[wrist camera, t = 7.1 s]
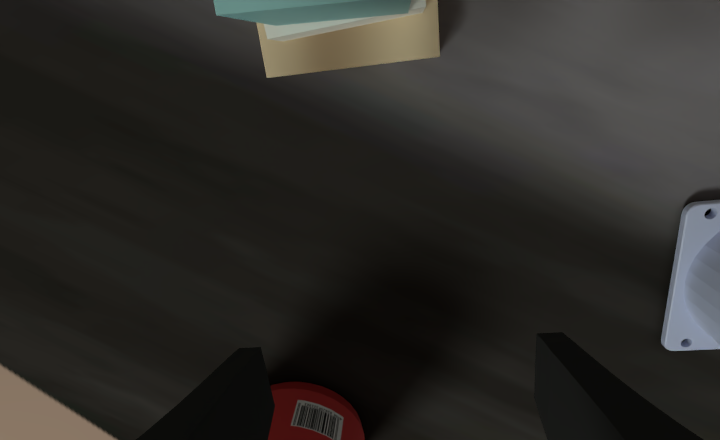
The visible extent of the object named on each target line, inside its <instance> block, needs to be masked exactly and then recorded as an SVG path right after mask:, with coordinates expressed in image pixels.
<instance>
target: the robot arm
mask: <svg viewBox="0 0 720 440" xmlns="http://www.w3.org/2000/svg"><path fill="white" fill-rule="evenodd" d="M708 209H711V212H710V213H709V214H708V215H706V216H705V215H704V214H705V212H706V211H707V210H708ZM684 339H686V340H685V341H684V342H681V341H683V340H684ZM661 343H662V344H663V346H664V347H665V348H666V349H668V350H670V351H684V350H707V349H720V200H710V201H698V202H692V203H690V204H688V205H686V206H685V208H684V209H683V211H682V215H681V221H680V227H679V233H678V239H677V245H676V251H675V257H674V263H673V269H672V275H671V282H670V288H669V294H668V300H667V306H666V312H665V318H664V324H663V330H662V336H661ZM534 398H535V401H536V405H537V408H538V411H539V415H540V418H541V421H542V424H543V427H544V430H545V433H546V436H547V439H548V440H703V439H702V438H700V437H699V436H697V435H696V434H694V433H693V432H691V431H690V430H688V429H687V428H685V427H684V426H682V425H681V424H679V423H678V422H676V421H675V420H674V419H672V418H671V417H669V416H668V415H667V414H665V413H664V412H662V411H661V410H659V409H658V408H657V407H655V406H654V405H652V404H651V403H650V402H648V401H647V400H646V399H644V398H643V397H642V396H640V395H639V394H638V393H636V392H635V391H634V390H632V389H631V388H630V387H629V386H627V385H626V384H625V383H623V382H622V381H621V380H620V379H618V378H617V377H616V376H615V375H613V374H612V373H611V372H610V371H608V370H607V369H606V368H605V367H603V366H602V365H601V364H600V363H599V362H597V361H596V360H595V359H594V358H592V357H591V356H590V355H589V354H588V353H586V352H585V351H584V350H583V349H582V348H580V347H579V346H578V345H577V344H576V343H575V342H573V341H572V340H571V339H570V338H569V337H567V336H566V335H565V334H564V333H562V332H559V333H539V334H537V338H536V365H535V393H534ZM274 409H275V403H274V399H273V395H272V391H271V387H270V383H269V379H268V375H267V371H266V367H265V363H264V359H263V355H262V351H261V347H256V348H239V349H238V350H237V351H236V352H234V353H233V354H232V355H231V356H230V357H229V358H228V359H227V360H225V361H224V362H223V363H222V364H221V365H220V366H219V367H218V368H217V369H216V370H215V371H214V372H213V373H212V374H211V375H209V376H208V377H207V378H206V379H205V380H204V381H203V382H202V383H201V384H200V385H199V386H198V387H197V388H195V389H194V390H193V391H192V392H191V393H190V394H189V395H188V396H187V397H186V398H185V399H183V400H182V401H181V402H180V403H179V404H178V405H177V406H176V407H174V408H173V409H172V410H171V411H170V412H169V413H167V414H166V415H165V416H164V417H163V418H161V419H160V420H159V421H158V422H157V423H156V424H154V425H153V426H152V427H151V428H150V429H149V430H147V431H146V432H145V433H144V434H143V435H141V436H140V437H139V438H138V439H136V440H268V436H269V432H270V428H271V423H272V418H273V414H274Z"/></svg>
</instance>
